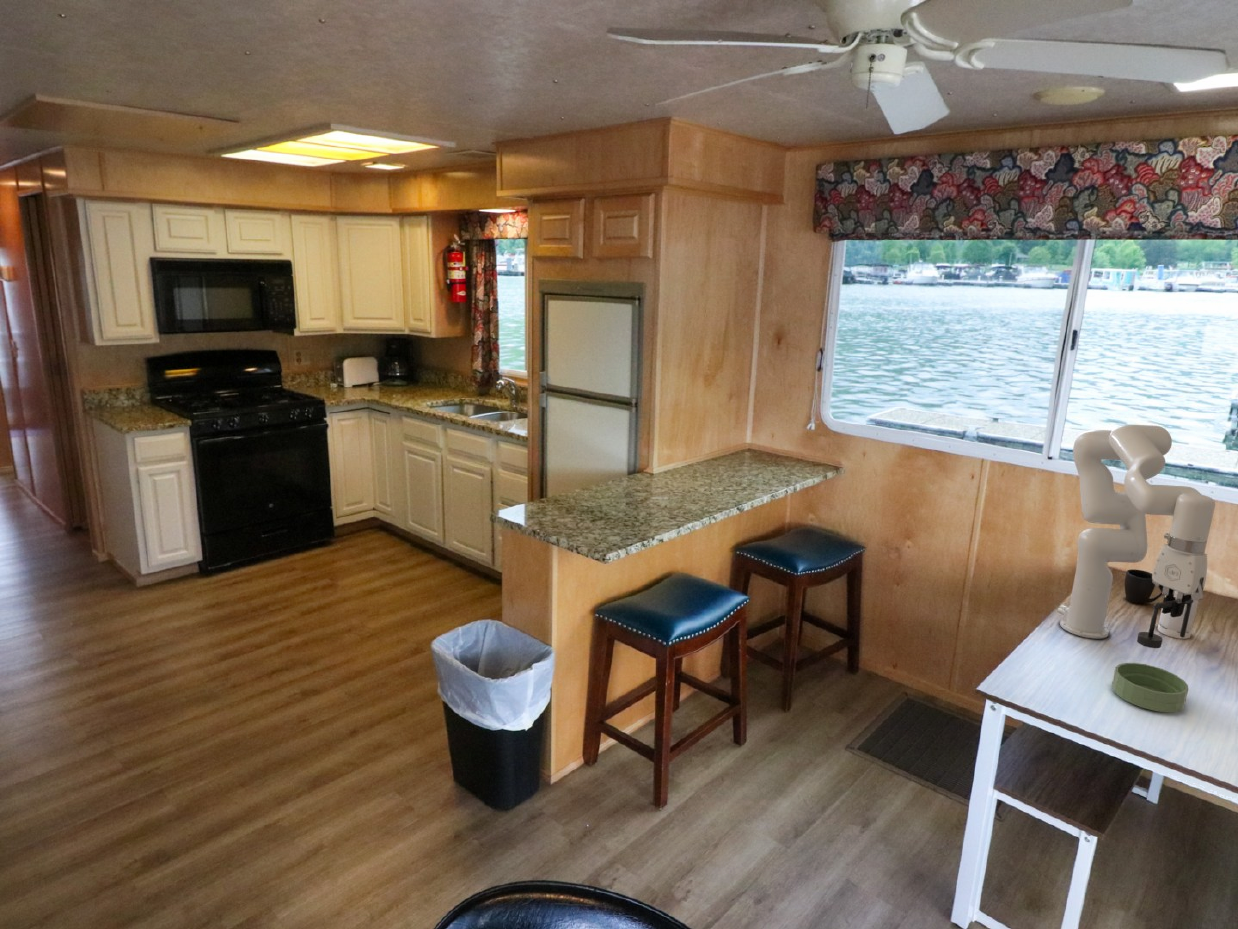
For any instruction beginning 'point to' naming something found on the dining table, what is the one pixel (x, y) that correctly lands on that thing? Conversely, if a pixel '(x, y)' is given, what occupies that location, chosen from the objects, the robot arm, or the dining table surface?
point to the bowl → (1150, 687)
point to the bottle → (1177, 621)
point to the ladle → (1149, 637)
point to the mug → (1139, 587)
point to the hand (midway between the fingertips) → (1171, 614)
